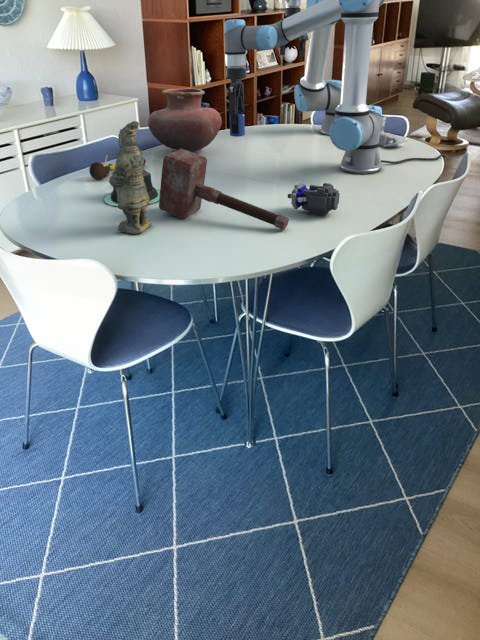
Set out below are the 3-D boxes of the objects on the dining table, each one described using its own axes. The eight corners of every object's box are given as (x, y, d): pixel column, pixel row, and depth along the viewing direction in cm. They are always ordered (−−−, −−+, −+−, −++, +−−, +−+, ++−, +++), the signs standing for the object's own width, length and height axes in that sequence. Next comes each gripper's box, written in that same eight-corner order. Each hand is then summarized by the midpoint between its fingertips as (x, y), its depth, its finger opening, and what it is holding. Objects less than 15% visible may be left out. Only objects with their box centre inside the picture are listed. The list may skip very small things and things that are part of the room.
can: (241, 132, 221) (241, 113, 217) (247, 135, 216) (246, 115, 212) (228, 134, 219) (227, 114, 215) (233, 137, 215) (232, 116, 211)
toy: (295, 178, 172) (342, 184, 166) (295, 205, 177) (340, 211, 171) (285, 186, 166) (333, 192, 160) (284, 213, 170) (331, 220, 164)
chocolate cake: (91, 202, 180) (113, 186, 197) (142, 231, 182) (160, 212, 199) (107, 162, 172) (129, 148, 190) (160, 192, 174) (177, 176, 192)
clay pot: (228, 143, 251) (226, 84, 239) (213, 161, 226) (210, 95, 213) (163, 142, 256) (158, 84, 243) (142, 159, 231) (135, 95, 218)
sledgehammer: (299, 190, 156) (179, 147, 167) (285, 200, 148) (161, 154, 160) (286, 244, 166) (174, 200, 177) (272, 256, 158) (156, 209, 170)
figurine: (152, 155, 217) (104, 161, 197) (152, 175, 220) (105, 183, 201) (127, 151, 223) (79, 157, 204) (128, 170, 226) (80, 177, 207)
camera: (379, 113, 243) (410, 118, 235) (376, 141, 250) (406, 146, 241) (369, 117, 238) (400, 121, 229) (366, 144, 244) (396, 150, 235)
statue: (131, 220, 168) (117, 116, 152) (158, 224, 164) (147, 118, 149) (109, 233, 159) (93, 124, 144) (138, 237, 156) (124, 126, 140)
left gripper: (269, 7, 273) (269, 54, 284) (305, 7, 257) (304, 57, 267) (280, 6, 277) (280, 53, 288) (317, 7, 261) (314, 56, 271)
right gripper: (233, 64, 214) (234, 126, 226) (218, 69, 199) (221, 136, 210) (251, 64, 212) (252, 126, 224) (238, 69, 197) (240, 137, 208)
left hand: (291, 55), depth 278 cm, fingers open, 13 cm apart
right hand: (237, 131), depth 217 cm, fingers closed on can, 6 cm apart
